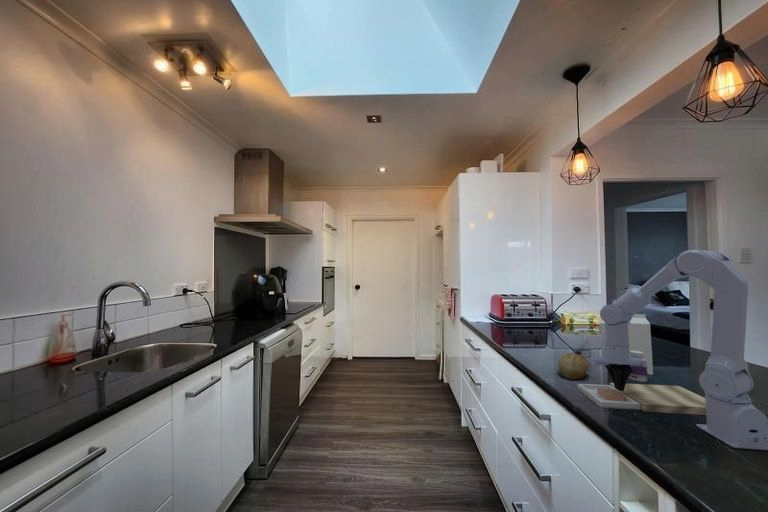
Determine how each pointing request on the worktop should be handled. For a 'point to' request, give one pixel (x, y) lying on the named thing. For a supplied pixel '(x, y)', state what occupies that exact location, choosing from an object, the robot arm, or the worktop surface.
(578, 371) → the bread roll
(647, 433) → the worktop surface
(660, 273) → the robot arm
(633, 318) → the milk
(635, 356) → the pill bottle
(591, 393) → the tray
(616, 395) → the terracotta tile
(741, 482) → the worktop surface
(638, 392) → the chopping board
